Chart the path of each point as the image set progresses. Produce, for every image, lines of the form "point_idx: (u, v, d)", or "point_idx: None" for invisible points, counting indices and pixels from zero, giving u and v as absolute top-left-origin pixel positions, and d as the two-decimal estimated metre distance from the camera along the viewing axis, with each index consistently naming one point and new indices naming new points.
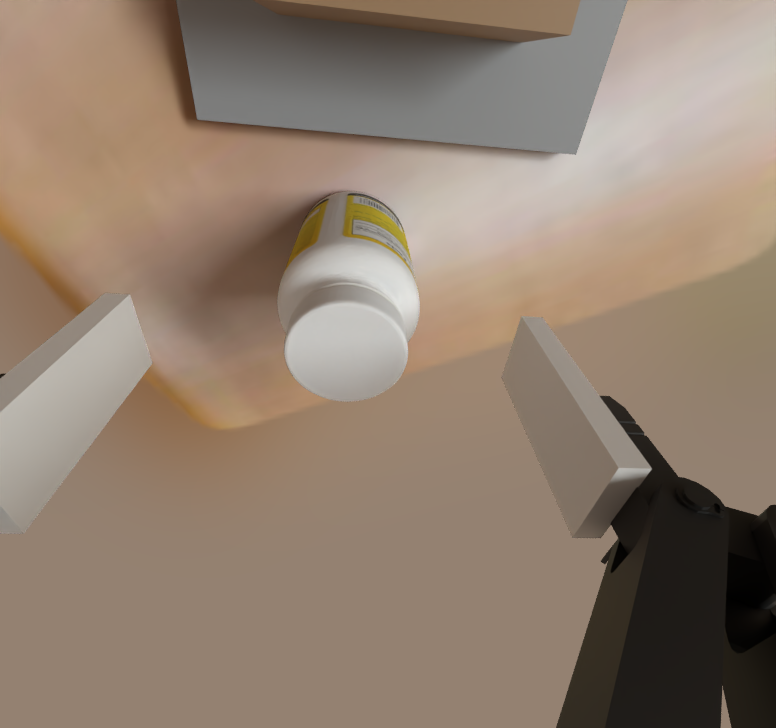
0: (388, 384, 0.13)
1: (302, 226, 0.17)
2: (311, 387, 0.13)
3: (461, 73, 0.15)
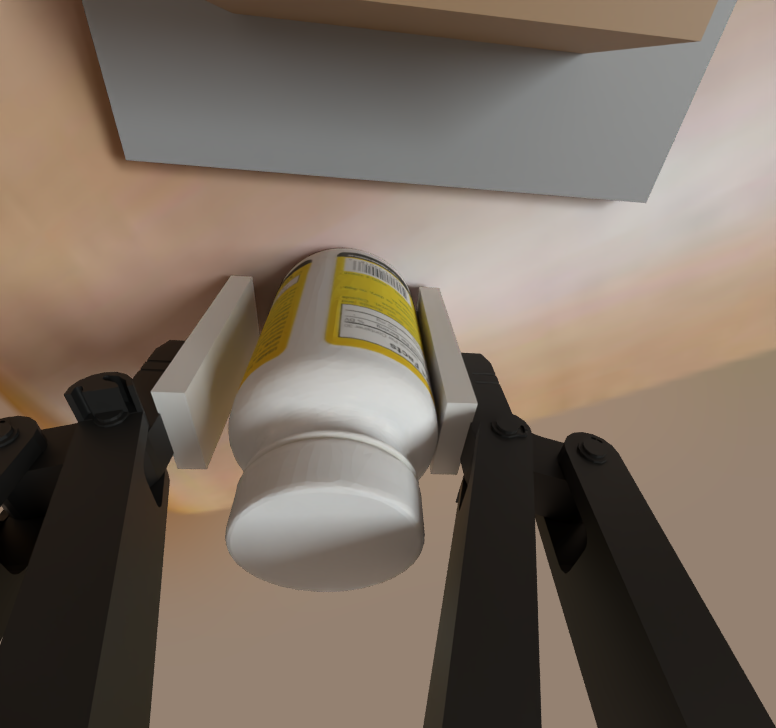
0: (393, 574, 0.09)
1: (275, 299, 0.13)
2: (274, 579, 0.09)
3: (496, 96, 0.11)
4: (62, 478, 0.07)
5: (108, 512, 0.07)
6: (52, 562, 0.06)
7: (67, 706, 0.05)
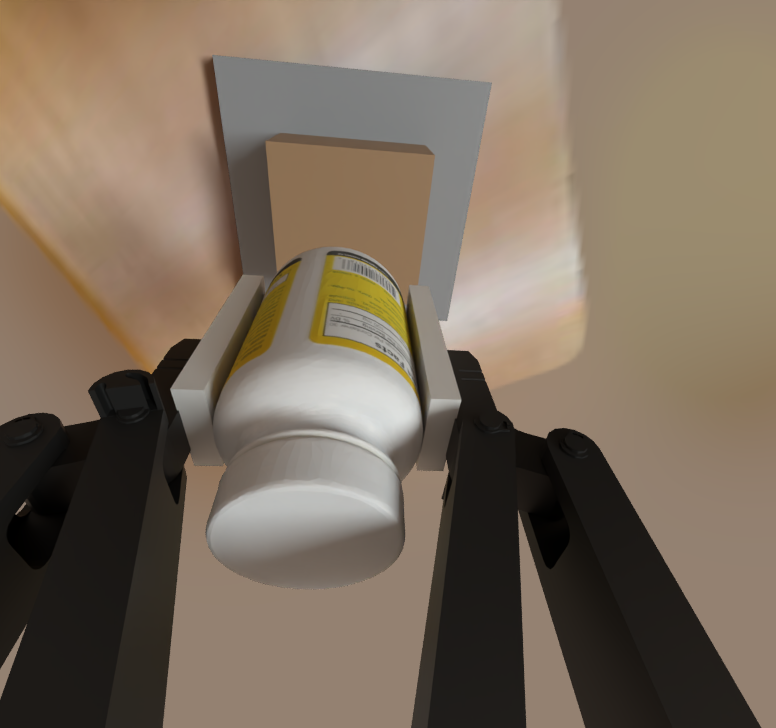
0: (374, 572, 0.09)
1: (264, 297, 0.13)
2: (256, 577, 0.09)
3: None
4: (84, 472, 0.07)
5: (128, 509, 0.07)
6: (74, 556, 0.06)
7: (86, 701, 0.05)
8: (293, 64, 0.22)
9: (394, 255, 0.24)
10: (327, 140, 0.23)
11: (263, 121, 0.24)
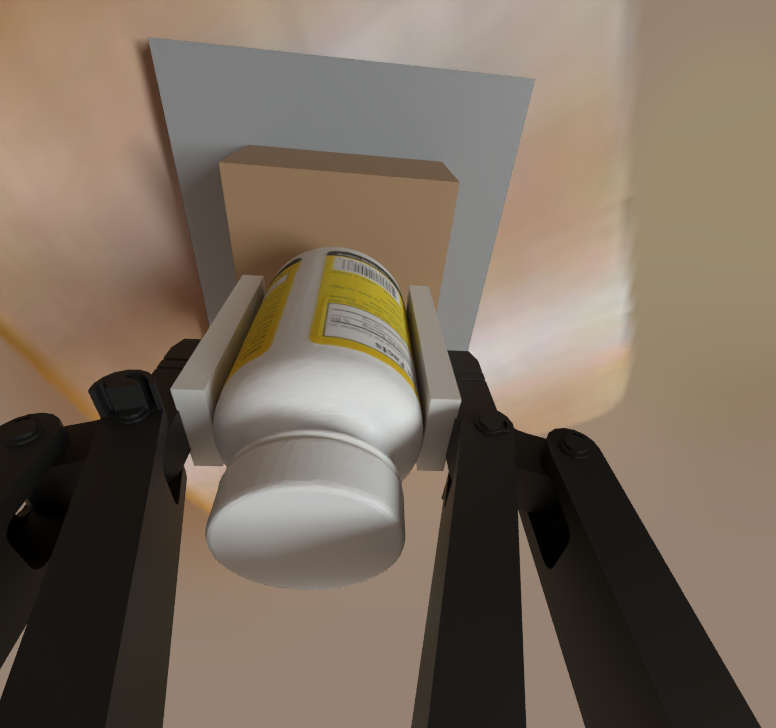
0: (375, 573, 0.09)
1: (264, 297, 0.13)
2: (255, 577, 0.09)
3: None
4: (84, 472, 0.07)
5: (129, 509, 0.07)
6: (74, 556, 0.06)
7: (86, 701, 0.05)
8: (262, 51, 0.16)
9: None
10: (310, 157, 0.17)
11: (223, 130, 0.18)
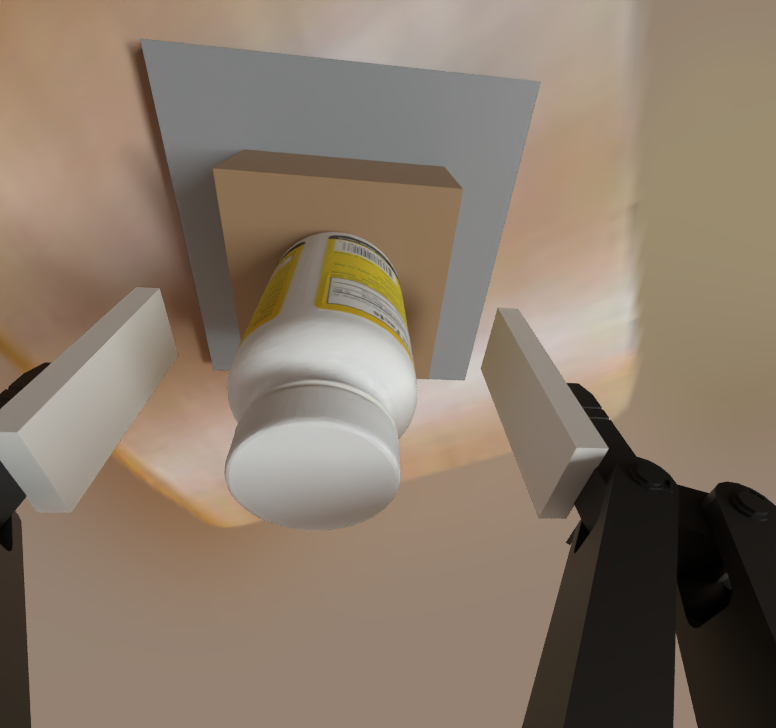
0: (373, 512, 0.10)
1: (271, 277, 0.14)
2: (267, 516, 0.10)
3: None
4: None
5: None
6: None
7: None
8: (258, 53, 0.15)
9: None
10: (308, 162, 0.16)
11: (219, 134, 0.17)
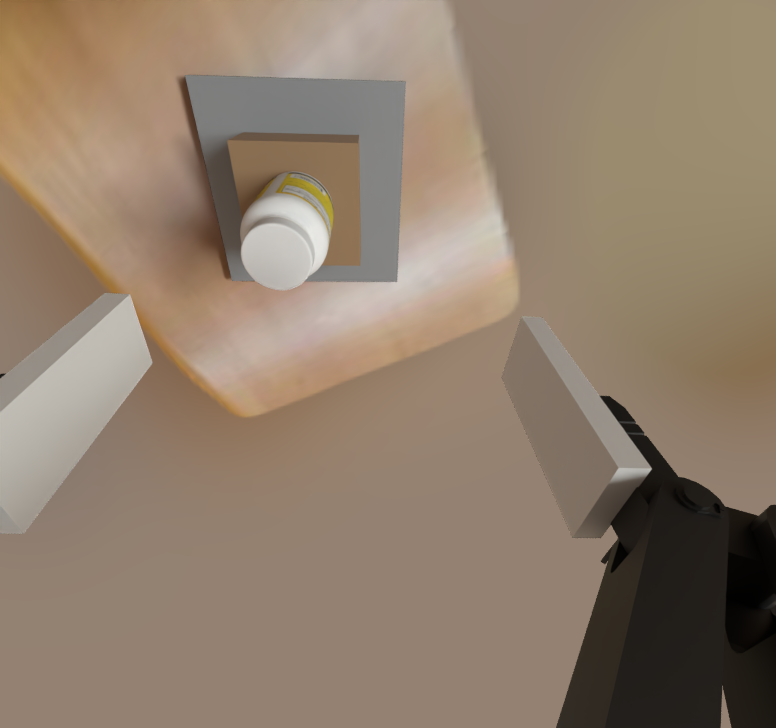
0: (304, 276, 0.23)
1: None
2: (259, 280, 0.23)
3: None
4: None
5: None
6: None
7: None
8: (247, 78, 0.29)
9: (337, 225, 0.31)
10: (278, 136, 0.29)
11: (228, 124, 0.30)
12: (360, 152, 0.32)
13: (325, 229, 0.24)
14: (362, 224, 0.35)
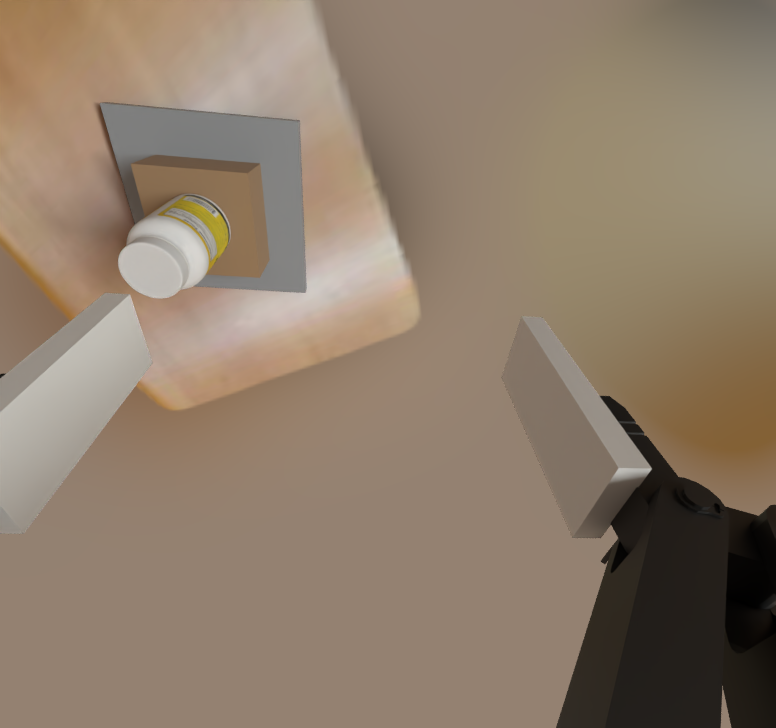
0: (176, 288, 0.27)
1: None
2: (137, 288, 0.27)
3: None
4: None
5: None
6: None
7: None
8: (156, 109, 0.32)
9: (235, 241, 0.35)
10: (182, 161, 0.33)
11: (141, 147, 0.34)
12: (262, 178, 0.36)
13: (202, 248, 0.28)
14: (269, 240, 0.39)
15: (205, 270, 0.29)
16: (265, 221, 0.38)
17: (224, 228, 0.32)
